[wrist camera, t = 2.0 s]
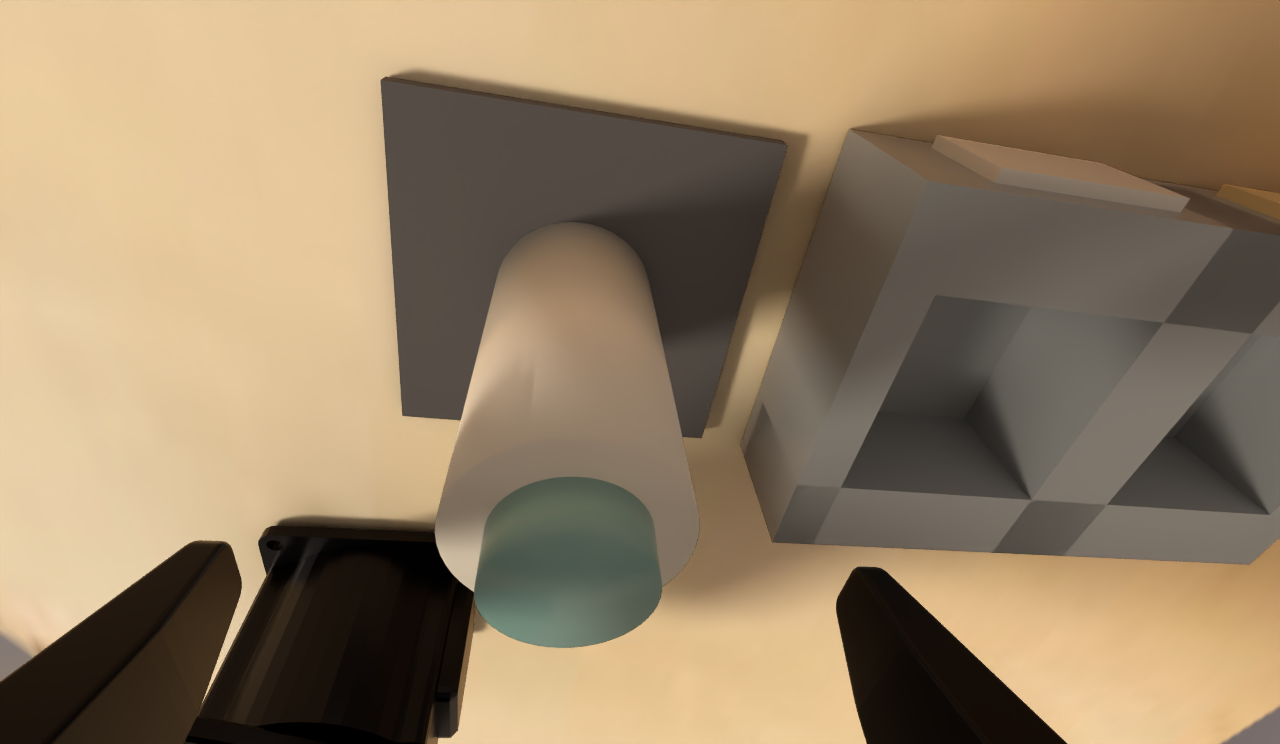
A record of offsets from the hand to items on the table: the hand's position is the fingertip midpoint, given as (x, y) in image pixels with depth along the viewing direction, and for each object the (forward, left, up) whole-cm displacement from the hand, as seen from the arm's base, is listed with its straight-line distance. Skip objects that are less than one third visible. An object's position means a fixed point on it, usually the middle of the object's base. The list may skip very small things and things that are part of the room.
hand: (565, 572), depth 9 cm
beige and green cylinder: (0, 0, -9) cm, 9 cm away
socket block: (+14, 0, -9) cm, 17 cm away
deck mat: (0, 0, -9) cm, 9 cm away
